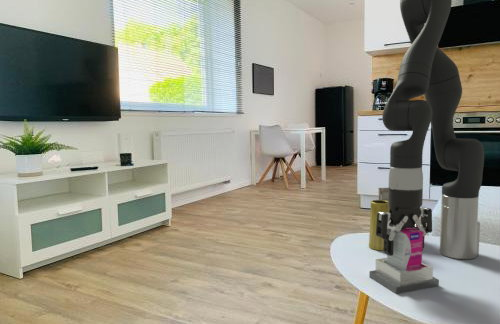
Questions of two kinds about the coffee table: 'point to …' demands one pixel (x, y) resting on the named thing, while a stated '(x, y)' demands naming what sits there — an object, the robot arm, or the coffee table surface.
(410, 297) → the coffee table surface
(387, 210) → the vase
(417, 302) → the coffee table surface
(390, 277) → the square tray
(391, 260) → the supplement box
